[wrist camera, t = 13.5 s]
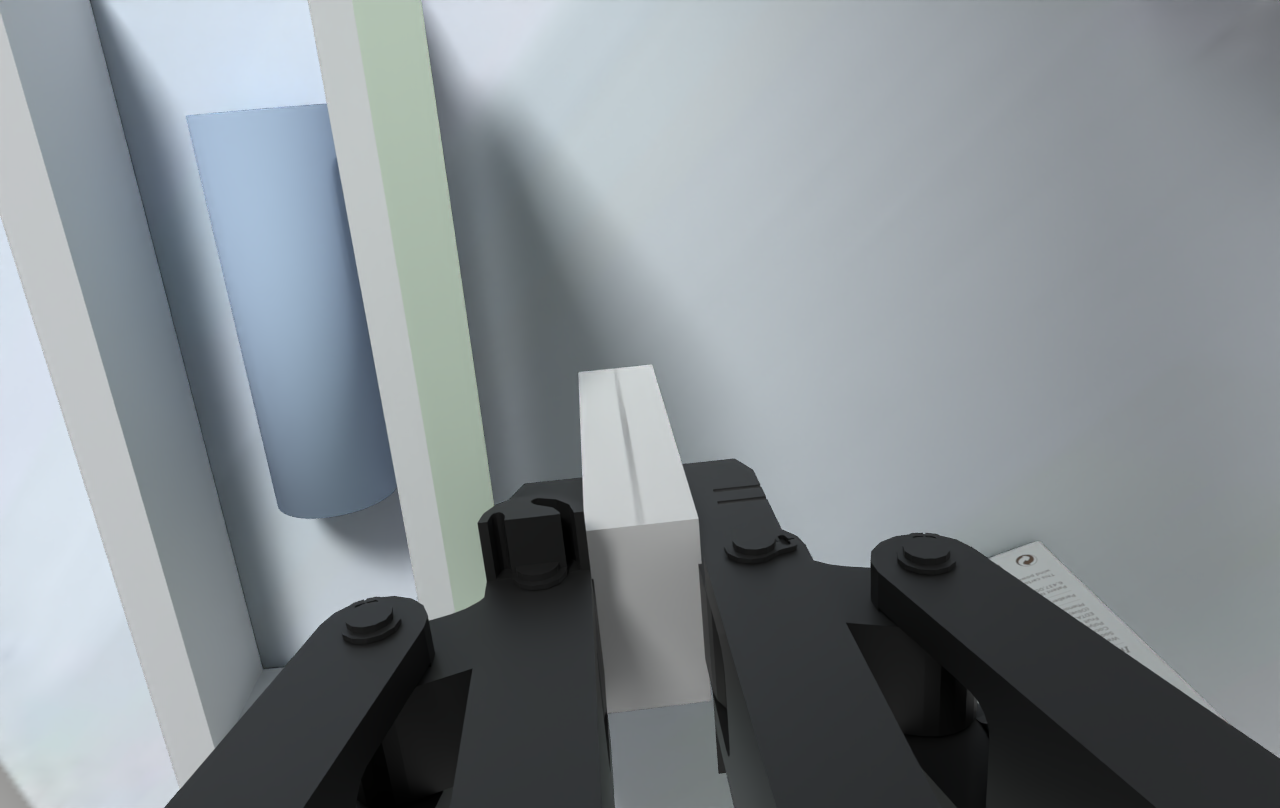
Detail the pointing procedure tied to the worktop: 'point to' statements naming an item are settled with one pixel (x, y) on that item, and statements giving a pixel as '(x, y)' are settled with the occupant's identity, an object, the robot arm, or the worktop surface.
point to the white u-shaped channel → (174, 357)
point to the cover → (428, 277)
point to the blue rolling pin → (296, 304)
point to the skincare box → (1086, 608)
